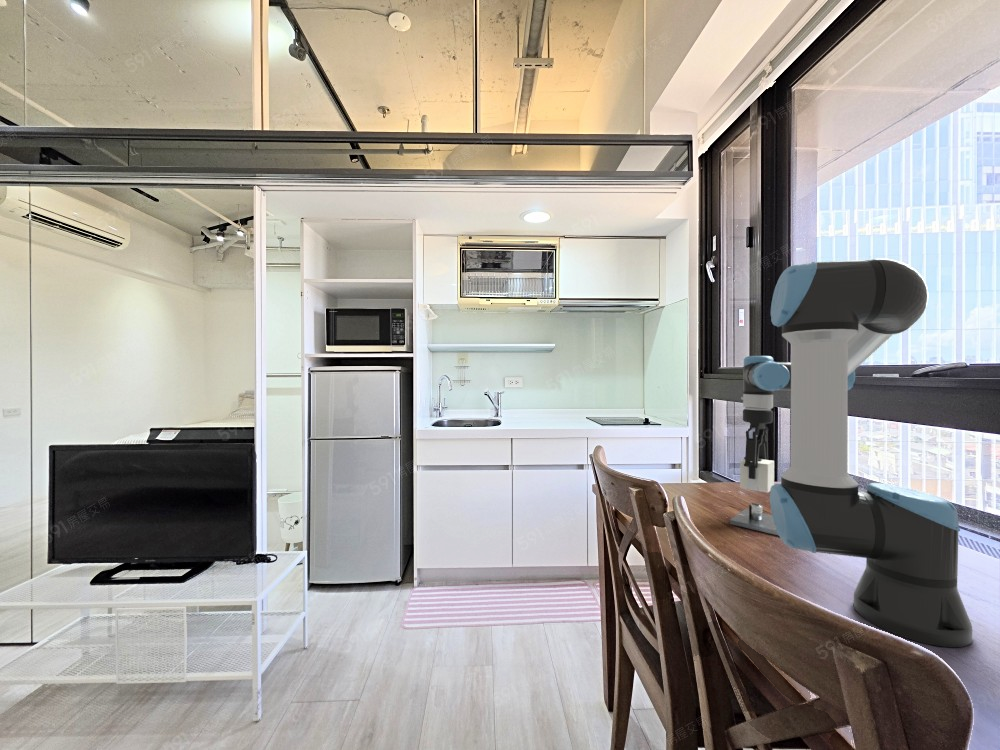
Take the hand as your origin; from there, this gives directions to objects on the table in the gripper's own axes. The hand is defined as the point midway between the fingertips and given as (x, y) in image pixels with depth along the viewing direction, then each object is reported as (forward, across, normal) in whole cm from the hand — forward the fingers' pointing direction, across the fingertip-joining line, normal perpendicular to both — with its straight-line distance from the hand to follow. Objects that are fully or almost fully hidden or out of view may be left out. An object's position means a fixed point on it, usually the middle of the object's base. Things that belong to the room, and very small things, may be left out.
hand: (756, 487), depth 124 cm
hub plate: (+10, 0, +2) cm, 11 cm away
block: (0, 0, 0) cm, 0 cm away
